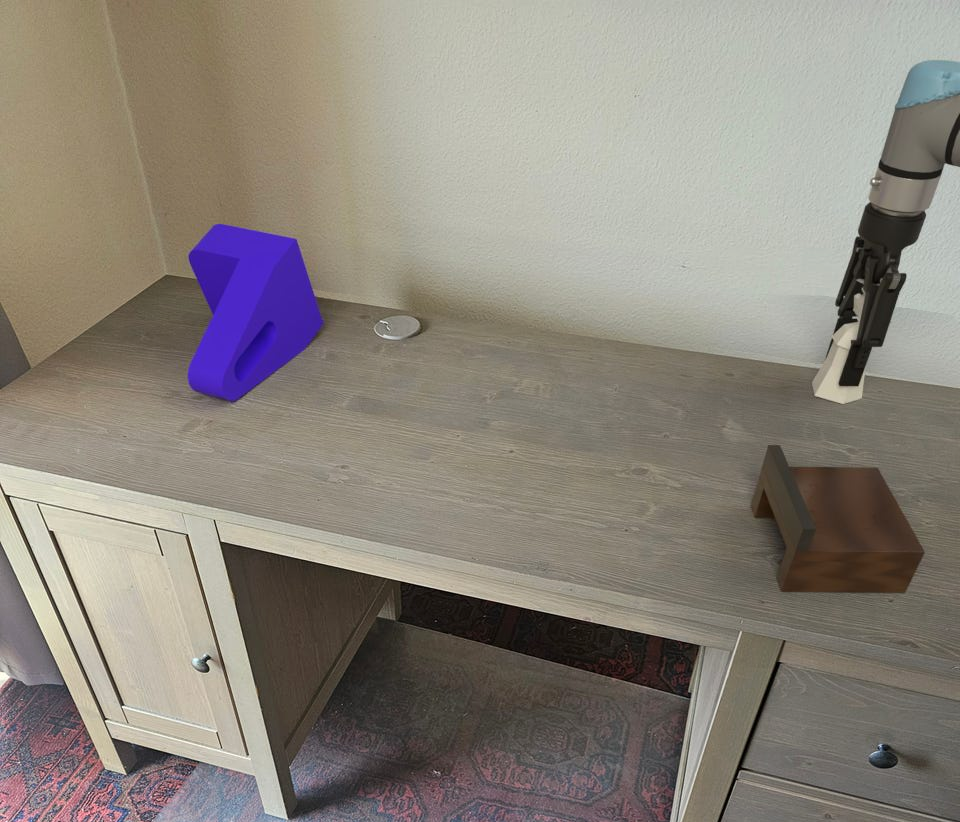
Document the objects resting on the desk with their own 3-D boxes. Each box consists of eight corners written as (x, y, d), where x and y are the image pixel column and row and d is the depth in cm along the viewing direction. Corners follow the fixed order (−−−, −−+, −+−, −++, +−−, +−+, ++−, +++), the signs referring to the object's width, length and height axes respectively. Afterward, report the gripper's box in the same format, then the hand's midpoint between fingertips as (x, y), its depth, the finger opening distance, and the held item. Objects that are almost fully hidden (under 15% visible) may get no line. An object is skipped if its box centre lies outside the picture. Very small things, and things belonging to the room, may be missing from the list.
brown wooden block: (861, 507, 108) (886, 445, 102) (905, 593, 97) (936, 530, 90) (750, 506, 108) (768, 444, 102) (781, 592, 97) (803, 528, 90)
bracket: (323, 323, 139) (239, 304, 143) (296, 238, 126) (205, 220, 130) (242, 433, 128) (155, 408, 133) (204, 353, 115) (108, 328, 120)
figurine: (872, 394, 128) (917, 272, 115) (833, 408, 125) (874, 284, 112) (837, 374, 132) (876, 254, 119) (798, 386, 129) (834, 265, 116)
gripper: (845, 180, 117) (798, 342, 133) (892, 234, 103) (834, 406, 120) (900, 181, 117) (847, 342, 133) (955, 235, 103) (888, 407, 120)
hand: (841, 372), depth 126 cm, fingers closed on figurine, 6 cm apart
